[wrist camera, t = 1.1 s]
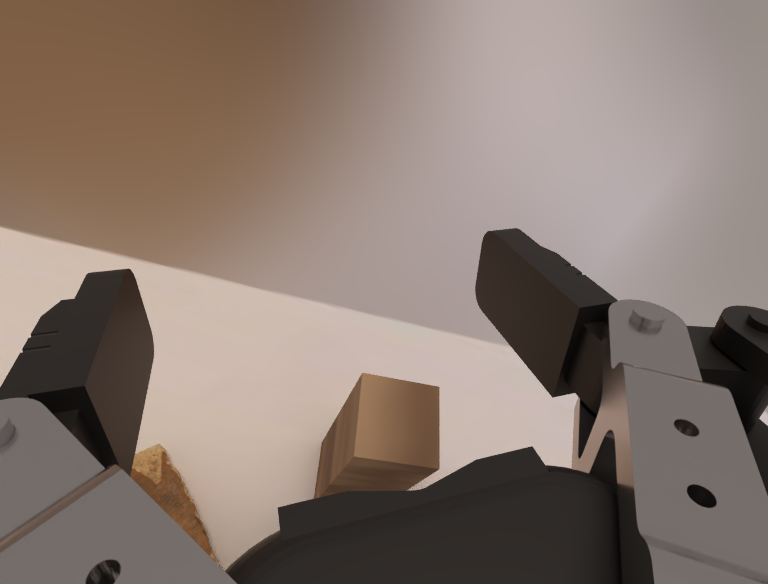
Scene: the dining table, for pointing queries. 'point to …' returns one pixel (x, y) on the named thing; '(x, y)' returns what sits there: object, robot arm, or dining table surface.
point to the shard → (169, 492)
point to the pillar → (381, 438)
